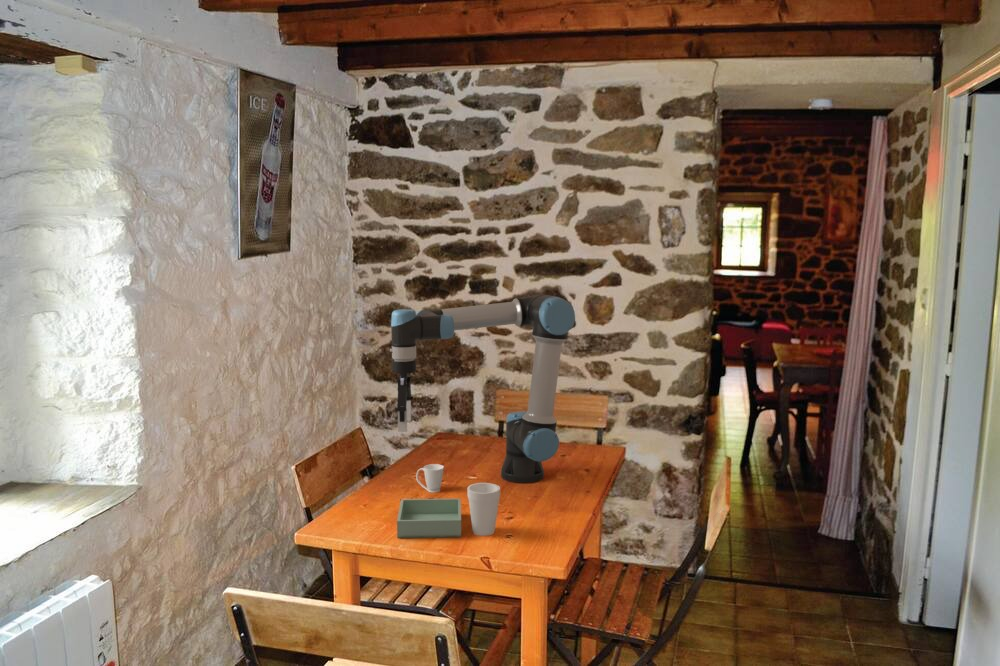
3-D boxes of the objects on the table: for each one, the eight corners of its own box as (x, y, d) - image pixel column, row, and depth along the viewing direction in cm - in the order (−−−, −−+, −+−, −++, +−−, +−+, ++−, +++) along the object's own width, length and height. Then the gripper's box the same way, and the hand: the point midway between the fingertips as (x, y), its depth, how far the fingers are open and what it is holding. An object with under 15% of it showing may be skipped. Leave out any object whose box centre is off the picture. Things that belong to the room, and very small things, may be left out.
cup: (438, 495, 263) (438, 471, 262) (411, 491, 267) (411, 467, 266) (448, 488, 269) (448, 465, 268) (421, 484, 273) (421, 461, 272)
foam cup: (466, 525, 237) (466, 483, 235) (498, 525, 237) (498, 482, 236) (468, 538, 227) (468, 493, 226) (500, 537, 228) (501, 493, 226)
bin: (460, 514, 246) (460, 498, 245) (461, 537, 228) (461, 520, 227) (401, 515, 245) (401, 499, 244) (397, 538, 227) (397, 521, 226)
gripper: (396, 352, 263) (396, 416, 266) (387, 366, 238) (388, 436, 241) (419, 352, 263) (419, 416, 266) (412, 366, 238) (413, 436, 241)
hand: (404, 426), depth 253 cm, fingers open, 13 cm apart
